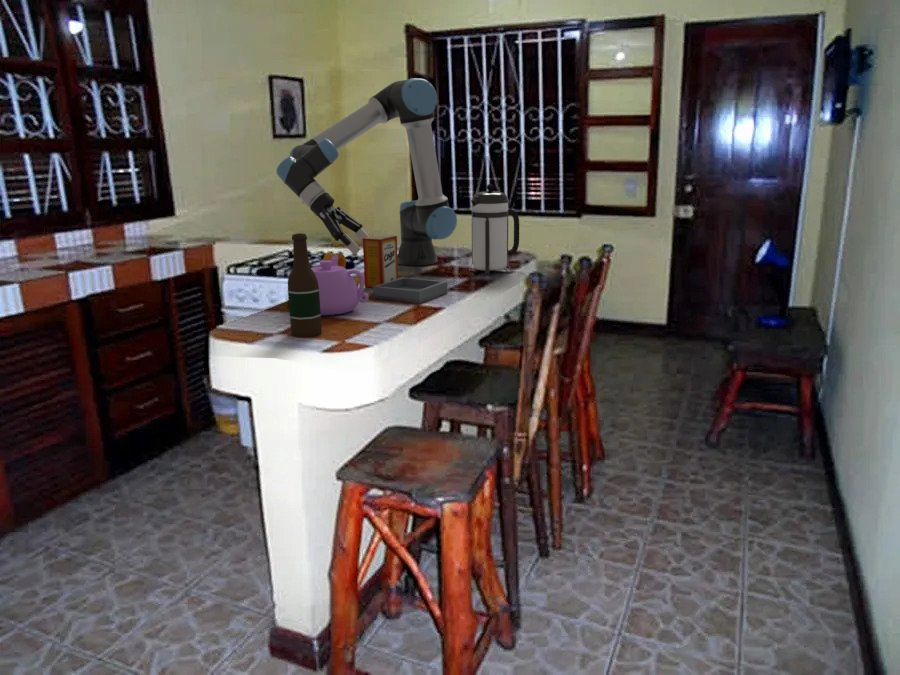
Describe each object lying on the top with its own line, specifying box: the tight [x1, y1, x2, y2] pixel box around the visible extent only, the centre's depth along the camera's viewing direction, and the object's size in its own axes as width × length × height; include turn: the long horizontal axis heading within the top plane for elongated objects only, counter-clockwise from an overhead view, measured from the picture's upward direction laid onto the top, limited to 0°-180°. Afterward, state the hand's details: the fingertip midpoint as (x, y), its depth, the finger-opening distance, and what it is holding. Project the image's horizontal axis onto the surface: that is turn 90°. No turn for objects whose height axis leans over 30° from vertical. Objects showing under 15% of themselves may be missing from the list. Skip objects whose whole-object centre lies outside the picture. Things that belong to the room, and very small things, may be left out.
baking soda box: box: [362, 234, 399, 290], centre depth 220 cm, size 10×6×16 cm
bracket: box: [322, 252, 359, 288], centre depth 212 cm, size 11×7×12 cm, turn 153°
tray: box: [372, 276, 448, 305], centre depth 208 cm, size 16×16×4 cm
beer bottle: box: [287, 232, 323, 338], centre depth 165 cm, size 8×8×24 cm
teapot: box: [287, 255, 369, 316], centre depth 191 cm, size 22×22×14 cm
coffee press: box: [468, 183, 520, 276], centre depth 240 cm, size 17×16×30 cm
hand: (365, 248), depth 219 cm, fingers open, 13 cm apart
